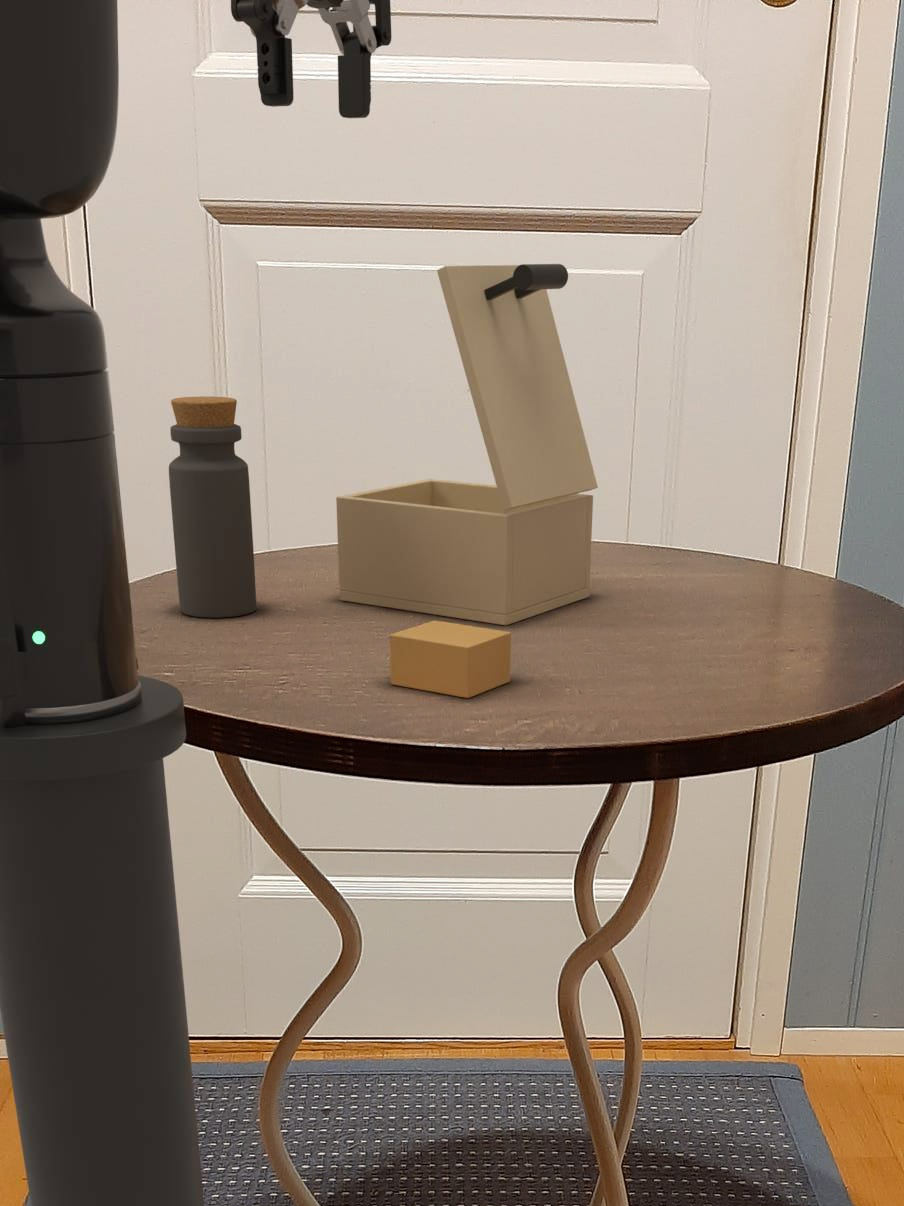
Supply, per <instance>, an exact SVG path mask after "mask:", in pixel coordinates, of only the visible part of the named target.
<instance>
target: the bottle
mask: <svg viewBox="0 0 904 1206" xmlns="http://www.w3.org/2000/svg"><path fill="white" fill-rule="evenodd" d="M237 402H238V401H237V399H236V398H233V397H227V396H183V397H176V398H172V399H171V400H170V403H171V407H172V411H173V414H174V418H175V422H176V424H173V425H172V426H170V439H171V441H172V442H175V443H178V445H179V455H178V456H177V457H175V458H173V460H172V461H171V462H170V463H169V464H168V481H169V494H170V507H171V518H172V519H171V520H172V531H173V543H174V555H175V567H176V569H175V570H176V578H177V589H178V601H179V609H180V612H181V613H182V614H185V615H186V616H191V617H197V618H207V619H217V618H218V619H219V618H221V619H222V618H234V617H241V616H245V615H249V614H251V613H253V612H255V611H256V609H257V592H256V591H257V589H256V573H255V572H256V571H255V569H256V568H255V553H254V536H253V520H252V519H253V518H252V501H251V488H250V486H251V485H250V475H249V473H250V472H249V464H248V463H247V462H246V460H244V459H243V458H242V457H240V456H238V455H236V451H235V450H236V449H235V443H237V442H239V441H241V440H242V438H243V437H242V436H243V435H242V427H241V425H238V424H236V423H235V419H236V412H237V411H236V410H237Z"/></svg>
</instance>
